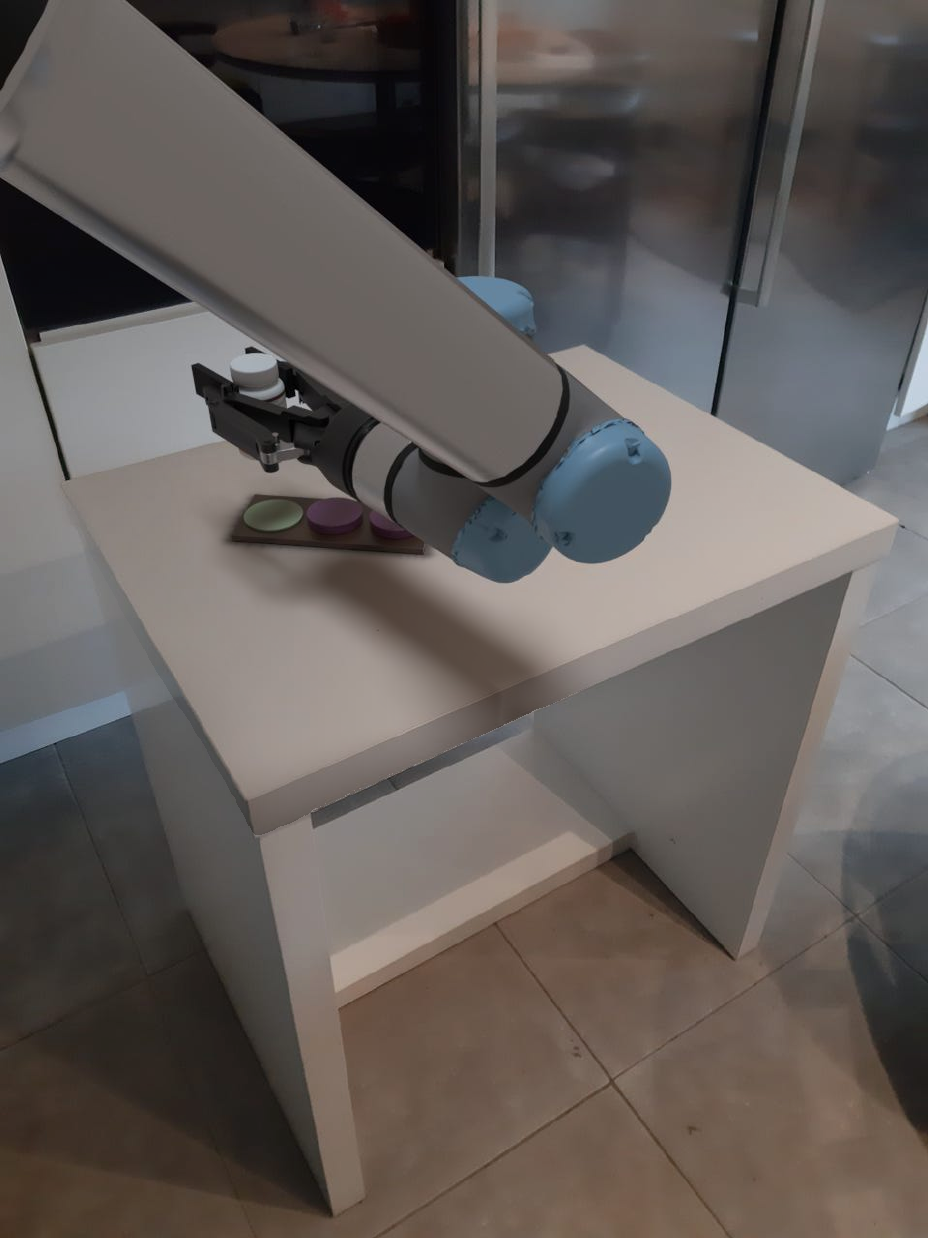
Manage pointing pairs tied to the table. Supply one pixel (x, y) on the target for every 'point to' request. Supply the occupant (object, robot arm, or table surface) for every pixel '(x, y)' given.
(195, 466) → the table surface
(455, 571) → the table surface
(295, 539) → the board
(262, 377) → the pill bottle
